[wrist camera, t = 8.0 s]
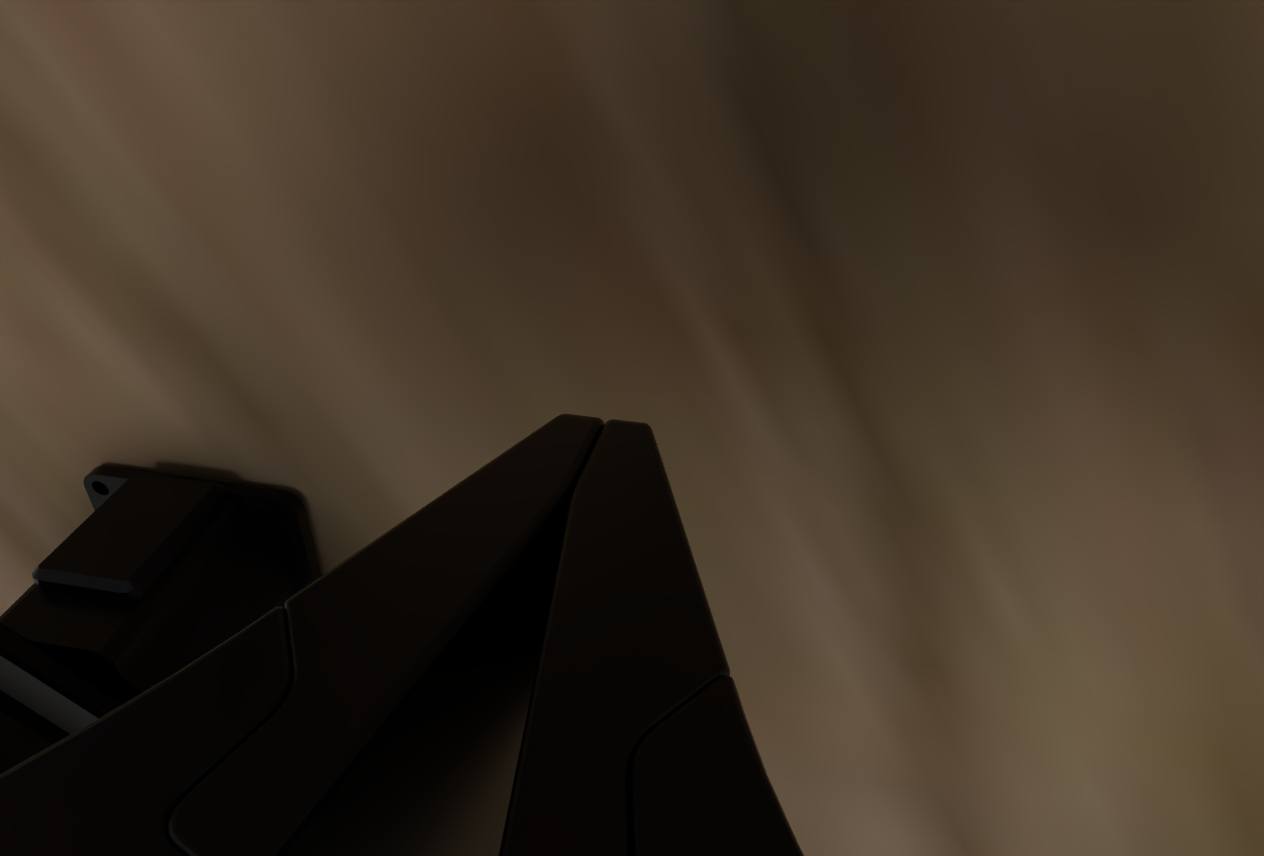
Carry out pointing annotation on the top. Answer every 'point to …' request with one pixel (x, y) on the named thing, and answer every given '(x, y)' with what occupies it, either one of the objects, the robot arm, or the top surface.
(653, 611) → the robot arm
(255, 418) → the top surface
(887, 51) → the top surface
